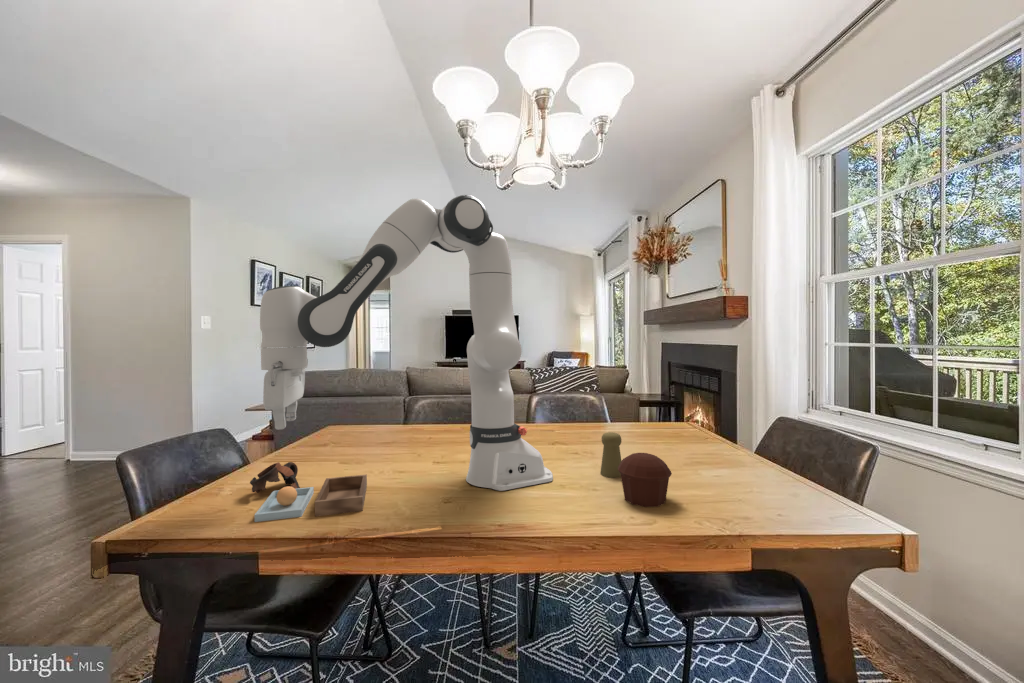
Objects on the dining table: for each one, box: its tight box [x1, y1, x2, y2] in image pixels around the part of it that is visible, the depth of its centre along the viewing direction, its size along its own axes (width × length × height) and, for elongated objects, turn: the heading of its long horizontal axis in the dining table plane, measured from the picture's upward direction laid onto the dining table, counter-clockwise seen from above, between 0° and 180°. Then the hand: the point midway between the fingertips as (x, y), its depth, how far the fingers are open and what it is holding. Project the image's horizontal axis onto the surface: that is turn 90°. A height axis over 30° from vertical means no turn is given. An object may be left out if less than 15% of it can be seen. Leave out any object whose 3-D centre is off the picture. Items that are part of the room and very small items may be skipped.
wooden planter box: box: [314, 474, 368, 517], centre depth 95 cm, size 9×16×4 cm, turn 16°
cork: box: [600, 431, 622, 479], centre depth 112 cm, size 6×6×11 cm
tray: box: [253, 486, 315, 523], centre depth 91 cm, size 8×14×2 cm, turn 16°
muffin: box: [618, 452, 672, 508], centre depth 94 cm, size 12×11×10 cm
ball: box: [277, 485, 297, 506], centre depth 92 cm, size 4×4×4 cm
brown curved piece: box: [249, 461, 301, 494], centre depth 102 cm, size 12×10×8 cm
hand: (286, 424), depth 91 cm, fingers open, 8 cm apart
